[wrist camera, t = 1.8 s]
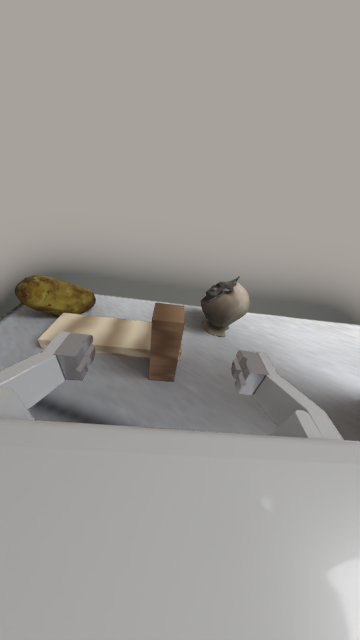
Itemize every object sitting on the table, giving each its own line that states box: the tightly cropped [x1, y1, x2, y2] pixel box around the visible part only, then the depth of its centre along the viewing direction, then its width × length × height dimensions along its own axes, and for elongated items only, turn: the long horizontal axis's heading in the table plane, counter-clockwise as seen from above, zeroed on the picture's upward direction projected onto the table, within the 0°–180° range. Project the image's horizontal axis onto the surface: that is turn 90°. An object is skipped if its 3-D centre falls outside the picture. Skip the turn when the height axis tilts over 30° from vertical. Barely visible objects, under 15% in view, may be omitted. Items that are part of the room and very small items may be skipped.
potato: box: [15, 276, 96, 316], centre depth 37 cm, size 8×13×8 cm, turn 96°
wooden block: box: [149, 303, 185, 382], centre depth 29 cm, size 4×11×12 cm, turn 0°
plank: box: [38, 313, 181, 361], centre depth 34 cm, size 24×8×2 cm, turn 90°
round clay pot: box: [201, 277, 249, 337], centre depth 39 cm, size 10×12×10 cm
